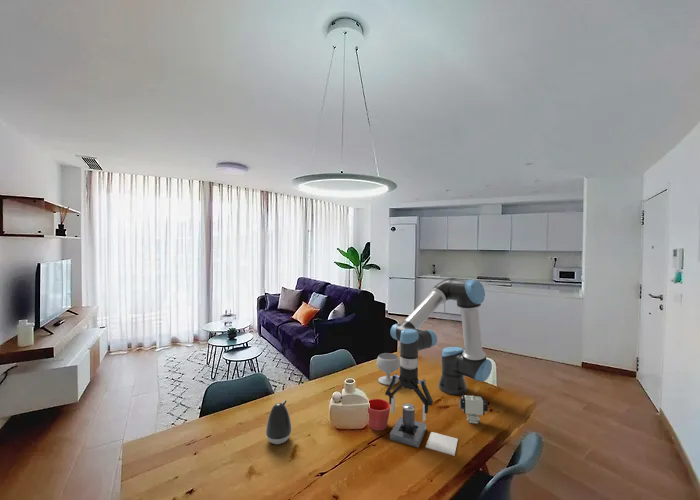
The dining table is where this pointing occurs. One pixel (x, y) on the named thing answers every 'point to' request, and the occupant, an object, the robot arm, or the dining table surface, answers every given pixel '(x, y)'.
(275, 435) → the dark grey tapered piece
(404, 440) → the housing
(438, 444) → the pad
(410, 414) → the metal cylinder
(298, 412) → the dining table surface
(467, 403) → the pneumatic valve
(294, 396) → the dining table surface
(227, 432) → the dining table surface
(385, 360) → the chalice
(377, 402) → the flower pot
